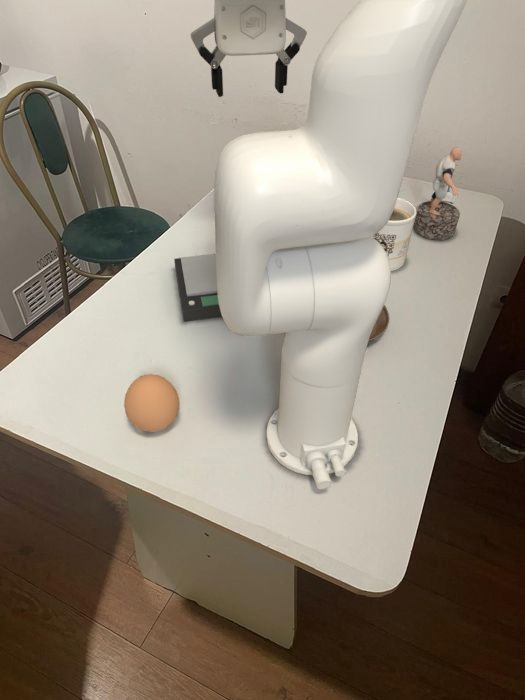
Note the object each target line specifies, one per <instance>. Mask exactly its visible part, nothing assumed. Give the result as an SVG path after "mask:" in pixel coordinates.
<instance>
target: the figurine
mask: <svg viewBox="0 0 525 700" xmlns="http://www.w3.org/2000/svg"><path fill="white" fill-rule="evenodd" d="M461 160H462V150H461V149H460V148H459V147H458V146H457V147H453V148H452V149H451V150H450V153H448V154H446V155H444V156H443V157H442V158H440V159H439V160H438V162H437V164H436V166H435V177H434V179H433V181H432V189H433V191H434V192H433V193H432V194H431V200H427V201H424V202H421V203H420V204H419V205H418V206H417V209H416V212H417V213H416V217H415V222H414V226H413V230H414V231H415V233H416V234H418V235H419V236H421V237H422V238H425V239H427V240H428V239H429V240H433V241H444V240H449V239H450V238H452V237H454V235H455V233H456V230H457V226H458V223H459V220H460V217H461V212H460V210H459V209H458V208H457V206H456V205H455V206H454V204H455V203H456V199H457V196H458V195H459V194H458V192H459V189H458V188H457V187H456V185H455V184H454V183H453V180H452V179H453V176H454V172H455V170H456V168H457V166H458V164H457V162H456V161H461ZM450 188H451V191H450Z"/></svg>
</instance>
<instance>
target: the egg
mask: <svg viewBox="0 0 525 700" xmlns="http://www.w3.org/2000/svg"><path fill="white" fill-rule="evenodd" d="M123 401H124V402H123V403H124V404H123V406H124V412H125V415H126V418H127V419H128V421H129V422H130V423H131V425H133V426H134V427H136V428H137V429H139V430H141V431H145V432H150V433H152V432H159V431H161V430H164V429H166V428H167V427H169V426H170V425H171V424H172V423H173V422H174V421H175V419H176V418H177V416H178V413H179V411H180V397H179V394H178V391H177V389H176V388H175V386H174V384H172V382H170V381H169V380H168V379H166V378H165V377H164V376H161V375H158V374H153V373H149V374H144V375H140V376H139V377H137V378H136V379H134V381H132V383H130V385H129V387H128V388H127V390H126V393H125V395H124V400H123Z"/></svg>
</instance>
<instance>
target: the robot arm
mask: <svg viewBox="0 0 525 700" xmlns="http://www.w3.org/2000/svg"><path fill="white" fill-rule="evenodd" d="M467 2H468V0H359V1H358V2H357V3H356V4H355V5H354V6H353V7H352V9H351V10H350V11H349V12H348V13H347V14H346V15H345V17H344V18H343V19H342V20H341V22H340V23H339V24H338V26H337V27H336V28H335V29H334V31H333V32H332V34H331V35H330V37H329V38H328V40H327V41H326V42H325V44H324V46H323V47H322V49H321V50H320V53H319V54H318V57H317V58H316V61H315V63H314V66H313V69H312V75H311V81H310V93H309V104H308V111H307V117H306V120H305V122H304V124H303V125H301V126H300V127H298V128H296V129H295V128H294V129H287V130H285V129H284V130H273V131H260V132H251V133H248V134H243V135H240V136H237V137H236V138H234V139H232V140H230V141H229V142H228V143H227V144H226V145H225V146H224V148H223V149H222V151H221V152H220V154H219V157H218V160H217V163H216V167H215V172H214V180H213V182H214V183H213V208H214V209H213V210H214V211H213V213H214V237H215V238H214V239H215V240H214V241H215V244H214V245H215V254H216V278H217V295H218V302H219V307H220V311H221V315H222V317H221V318H222V320H223V321H224V323H225V325H226V326H227V327H228V328H229V330H230V331H231V332H233V333H234V334H237V335H239V336H244V337H261V336H271V335H277V334H284V333H285V335H284V339H283V343H282V349H281V364H280V365H281V367H280V380H279V381H280V382H279V398H278V399H279V401H278V402H279V403H278V408H277V409H275V410H274V412H273V413H272V414H271V416H270V417H269V420H268V421H267V425H266V429H265V430H266V431H265V432H266V433H265V434H266V436H265V437H266V444H267V447H268V449H269V451H270V453H271V454H272V456H273V457H274V459H275V460H276V461H278V463H279V464H281V465H282V466H283V467H285V468H286V469H288V470H290V471H292V472H295V473H296V474H301V475H304V476H312V477H313V480H314V483H315V487H316V489H317V490H326V489H328V488H330V487H331V486H332V484H333V483H332V480H331V478H330V474H333V473H334V475H335V477H338V478H339V477H343V476H344V475H346V473H347V471H346V469H345V467H346V466H347V465H348V464H349V463H350V462H351V461H352V459H353V458H354V456H355V454H356V452H357V448H358V442H359V433H358V432H359V431H358V429H357V425H356V424H355V422H354V420H353V418H352V415H353V411H354V408H355V407H354V406H355V402H356V398H357V397H356V396H357V392H358V388H359V383H360V378H361V375H362V368H363V365H364V360H365V356H366V351H367V347H368V344H369V342H368V340H369V337H370V334H371V332H372V329H373V327H374V325H375V322H376V321H377V319H378V317H379V315H380V313H381V311H382V308H383V306H384V305H385V304H386V301H387V298H388V296H389V291H390V288H391V278H392V271H391V268H390V262H389V259H388V256H387V253H386V252H385V250H384V248H383V247H382V246H381V244H380V243H379V242H378V241H376V240H375V239H374V238H372V237H370V236H372V235H374V234H376V233H378V232H379V231H380V230H382V229H383V228H384V226H385V225H386V224H387V222H388V221H389V219H390V217H391V215H392V212H393V210H394V207H395V204H396V201H397V198H399V195H400V191H401V186H402V183H403V180H404V176H405V173H406V169H407V165H408V161H409V158H410V154H411V151H412V148H413V147H412V146H413V143H414V139H415V136H416V132H417V128H418V125H419V122H420V118H421V114H422V110H423V106H424V101H425V98H426V95H427V92H428V89H429V85H430V83H431V79H432V77H433V75H434V73H435V70H436V68H437V66H438V64H439V61H440V59H441V57H442V55H443V52H444V50H445V48H446V46H447V44H448V42H449V40H450V38H451V36H452V34H453V32H454V30H455V28H456V27H457V24H458V21H459V20H460V17H461V16H462V13H463V11H464V9H465V7H466V4H467ZM213 10H214V12H213V13H214V14H213V18H211V19H210V20H208V21H206V22H205V23H204V24H202V25H200V26H199V27H198V28H196V29H195V30H193V31H191V32H190V38H191V41H192V43H193V45H194V47H195V48H196V50H197V52H198V54H199V56H200V57H201V58H202V59H203V60H204V61H205V62H206V63H207V64H209V66H210V73H211V74H210V75H211V89H212V90H215V92H216V95H217V97H218V98H222V97H224V81H223V80H224V79H223V68H222V66H221V63H222V62H223V60H224V59H225V58H226V56H229V57H239V56H240V57H241V56H261V55H263V56H265V55H276V56H277V60H276V61H275V63H274V64H275V65H274V67H275V68H274V89H275V90H276V91H277V93H278V94H284V91H285V90H284V88H285V87H287V84H288V70H289V69H288V68H289V67H288V66H289V65H290V64H291V61H292V60H293V59H294V58H295V57H296V55H298V54H299V52H300V51H301V46H302V45H303V44H304V41H305V39H306V37H307V34H308V32H307V30H306V29H305V28H303V27H302V26H301V25H299V24H297V23H296V22H294V21H292V20H291V19H288V18H287V16H286V14H287V13H286V0H214V9H213ZM287 31H288V32H289V33H291V34H293V38H292V41H291V42H290V43H289V44H288V45H287V46H286V41H287ZM213 33H214V43H215V47H214V49H213V50H212V51H210V49H208V48H207V47H206V46H205V44H204V39H205V38H207V37H208V36H210V35H212V34H213Z"/></svg>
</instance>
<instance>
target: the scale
mask: <svg viewBox="0 0 525 700" xmlns="http://www.w3.org/2000/svg"><path fill="white" fill-rule="evenodd" d="M173 260H174V261H173V262H174V269H175V275H176V282H177V288H178V296H179V301H180V309H181V314H182V320H183V321H182V322H183V323H184V322H185V323H187V322H194V321H201V320H209V319H217V318H223V317H222V315H221V311H220V307H219V302H218V295H217V278H216V253H210V254H200V255H191V256H182V257H177V258H173Z"/></svg>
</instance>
